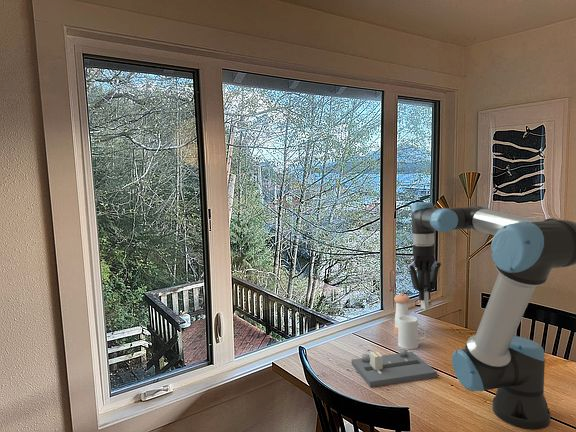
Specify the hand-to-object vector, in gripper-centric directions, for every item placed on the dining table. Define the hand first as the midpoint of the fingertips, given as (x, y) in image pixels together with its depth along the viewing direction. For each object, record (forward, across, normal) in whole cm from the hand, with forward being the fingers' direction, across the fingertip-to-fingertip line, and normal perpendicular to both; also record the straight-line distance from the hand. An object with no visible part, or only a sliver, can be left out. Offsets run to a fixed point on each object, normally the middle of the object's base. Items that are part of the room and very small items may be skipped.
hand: (424, 308), depth 146 cm
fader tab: (+22, +17, -7) cm, 29 cm away
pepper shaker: (+24, -12, -37) cm, 46 cm away
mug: (+24, -9, -24) cm, 35 cm away
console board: (+25, +10, -6) cm, 27 cm away
